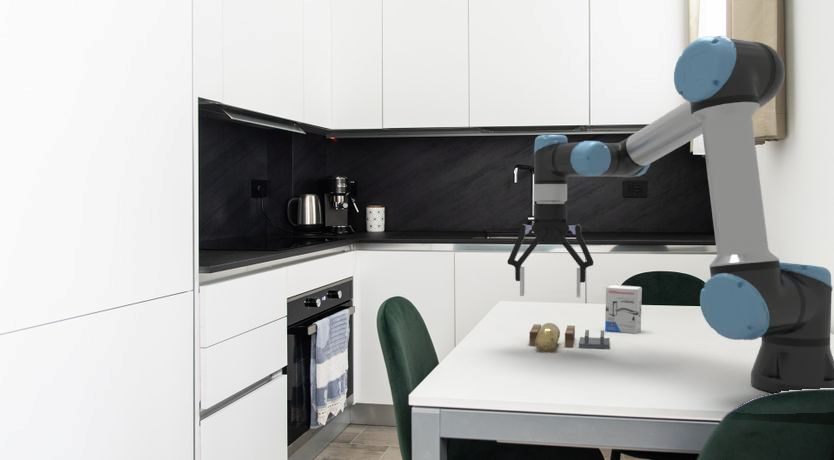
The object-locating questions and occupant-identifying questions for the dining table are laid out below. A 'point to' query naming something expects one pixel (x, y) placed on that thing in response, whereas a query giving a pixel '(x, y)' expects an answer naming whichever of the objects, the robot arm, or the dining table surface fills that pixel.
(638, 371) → the dining table surface
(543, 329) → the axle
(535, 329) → the wooden rail pair
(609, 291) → the ink box
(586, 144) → the robot arm
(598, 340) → the cradle
